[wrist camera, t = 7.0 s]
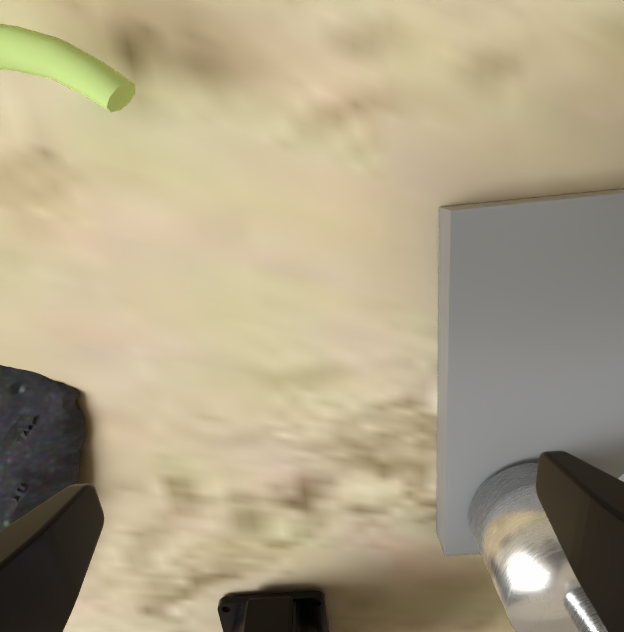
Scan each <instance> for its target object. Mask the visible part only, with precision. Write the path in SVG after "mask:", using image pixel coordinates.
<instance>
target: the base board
mask: <svg viewBox="0 0 624 632" xmlns="http://www.w3.org/2000/svg"><path fill="white" fill-rule="evenodd" d="M559 450H560V451H565V452H567V453H569V454H571V455H573V456H575V457H577V458H579V459H581V460H583V461H585V462H587V463H589V464H591V465H592V466H594V467H596V468H598V469H600V470H602V471H604V472H606V473H608V474H610V475H612V476H614V477H616V478H617V479H618V478H619V477H620V476H622V475H623V474H624V189H615V190H605V191H595V192H585V193H575V194H565V195H556V196H546V197H536V198H526V199H516V200H506V201H496V202H486V203H476V204H466V205H456V206H446V207H439V297H438V420H437V535H438V538H439V541H440V544H441V547H442V549H443V552H444V555H445V556H451V555H466V554H480V552H479V549H478V547H477V545H476V543H475V540H474V538H473V536H472V533H471V531H470V529H469V525H468V518H467V516H468V509H469V505H470V503H471V501H472V498H473V497H474V495H475V494H476V492H477V491H478V490H479V488H480V487H481V486H482V485H483V484H484V483H485V482H486V481H488V480H489V479H490V478H492V477H493V476H495V475H496V474H498V473H500V472H502V471H504V470H506V469H508V468H511V467H514V466H517V465H521V464H526V463H534V462H538V460H539V456H540V454H541V453H542V452H545V451H559Z"/></svg>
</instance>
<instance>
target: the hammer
mask: <svg viewBox="0 0 624 632" xmlns="http://www.w3.org/2000/svg"><path fill="white" fill-rule="evenodd" d="M537 468H538V462H534V463H526V464H521V465H517V466H514V467H511V468H508V469H506V470H504V471H502V472H500V473H498V474H496V475H495V476H493V477H492V478H490V479H489V480H488V481H486V482H485V483H484V484H483V485H482V486H481V487H480V488H479V490H478V491H477V492H476V494H475V495H474V497H473V498H472V501H471V503H470V505H469V509H468V516H467V518H468V525H469V529H470V531H471V533H472V536H473V538H474V540H475V543H476V545H477V547H478V549H479V552H480V554H481V556H482V559H483V561H484V563H485V565H486V568H487V570H488V572H489V574H490V577H491V579H492V581H493V584H494V586H495V588H496V590H497V593H498V595H499V597H500V600H501V602H502V604H503V606H504V609H505V611H506V613H507V616H508V618H509V620H510V622H511V625H512V626H513V628H514V629H515V631H516V632H608V631H607V630H606V628H605V626H604V625H603V623H602V621H601V620H600V618H599V616H598V614H597V613H596V611H595V609H594V608H593V606H592V604H591V603H590V601H589V599H588V597H587V596H586V594H585V592H584V591H583V589H582V587H581V585H580V584H579V582H578V580H577V578H576V576H575V574H574V572H573V570H572V568H571V566H570V564H569V562H568V560H567V558H566V556H565V554H564V552H563V550H562V547H561V545H560V543H559V541H558V539H557V537H556V535H555V533H554V530H553V528H552V526H551V524H550V522H549V520H548V518H547V516H546V513H545V511H544V509H543V507H542V505H541V503H540V501H539V499H538V496H537V493H536V476H537ZM618 479H619V480H621V481H623V482H624V474H623V475H622V476H620V477H619V478H618Z"/></svg>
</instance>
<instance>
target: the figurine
mask: <svg viewBox="0 0 624 632" xmlns="http://www.w3.org/2000/svg"><path fill="white" fill-rule="evenodd" d="M0 69H2V70H12V71H19V72H23V73H28V74H32V75H36V76H41V77H45V78H50V79H52V80H54V81H56V82H58V83H60V84H62V85H64V86H66V87H68V88H70V89H72V90H74V91H76V92H78V93H80V94H82V95H84V96H86V97H87V98H89V99H90V100H92V101H94V102H95V103H97V104H98V105H100V106H102V107H103V108H105V109H107V110H108V111H110V112H114V111H119V110H121V109H122V108H123V107H124V106H126V105H127V104H128V103H129V102H130V101H131V99H132V97H133V95H134V94H135V84H134V83H133V82H131V81H130V80H128V79H127V78H125V77H124V76H122V75H121V74H120V73H118V72H117V71H115V70H114V69H112V68H111V67H109V66H108V65H107V64H105V63H104V62H102V61H100V60H98V59H96V58H95V57H93V56H91V55H89V54H87V53H86V52H84V51H82V50H80V49H78V48H77V47H75V46H73V45H71V44H69V43H67V42H65V41H63V40H61V39H59V38H56V37H52V36H49V35H45V34H42V33H38V32H35V31H31V30H28V29H24V28H21V27H17V26H11V25H4V24H0Z"/></svg>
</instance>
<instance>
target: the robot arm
mask: <svg viewBox="0 0 624 632" xmlns="http://www.w3.org/2000/svg"><path fill="white" fill-rule="evenodd" d="M536 493H537V496H538V499H539V501H540V503H541V505H542V507H543V509H544V511H545V513H546V516H547V518H548V520H549V522H550V524H551V526H552V528H553V530H554V533H555V535H556V537H557V539H558V541H559V543H560V545H561V547H562V550H563V552H564V554H565V556H566V558H567V560H568V562H569V564H570V566H571V568H572V570H573V572H574V574H575V576H576V578H577V580H578V582H579V584H580V585H581V587H582V589H583V591H584V592H585V594H586V596H587V597H588V599H589V601H590V603H591V604H592V606H593V608H594V609H595V611H596V613H597V614H598V616H599V618H600V620H601V621H602V623H603V625H604V626H605V628H606V630H607V631H608V632H624V482H623V481H621V480H619V479H617V478H616V477H614V476H612V475H610V474H608V473H606V472H604V471H602V470H600V469H598V468H596V467H594V466H592V465H591V464H589V463H587V462H585V461H583V460H581V459H579V458H577V457H575V456H573V455H571V454H569V453H567V452H565V451H560V450H559V451H545V452H542V453H541V454H540V456H539V460H538V468H537V476H536ZM103 524H104V513H103V510H102V507H101V504H100V501H99V498H98V495H97V492H96V489H95V487H94V486H93V485H92V484H88V483H87V484H74V485H70V486H68V487H66V488H65V489H63V490H62V491H60V492H59V493H57V494H56V495H54V496H53V497H51V498H50V499H48V500H47V501H45V502H44V503H42V504H41V505H39V506H38V507H36V508H35V509H33V510H32V511H30V512H28V513H27V514H25V515H24V516H22V517H21V518H19V519H18V520H16V521H15V522H13V523H12V524H10V525H9V526H7V527H6V528H4V529H3V530H1V531H0V632H63V630H64V628H65V625H66V623H67V621H68V619H69V616H70V614H71V612H72V610H73V607H74V605H75V602H76V600H77V597H78V595H79V592H80V589H81V586H82V583H83V581H84V578H85V575H86V572H87V570H88V567H89V564H90V561H91V559H92V556H93V553H94V550H95V547H96V545H97V542H98V539H99V536H100V534H101V531H102V528H103ZM218 613H219V617H220V621H221V624H222V628H223V632H329V624H328V616H327V608H326V600H325V595H324V593H323V592H321V591H306V592H291V593H276V594H261V595H247V596H232V597H223V598H221V599H220V601H219V605H218Z"/></svg>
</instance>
